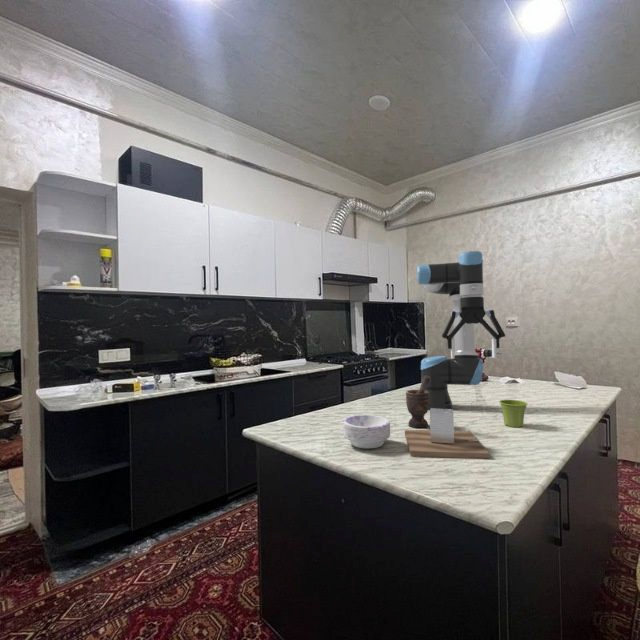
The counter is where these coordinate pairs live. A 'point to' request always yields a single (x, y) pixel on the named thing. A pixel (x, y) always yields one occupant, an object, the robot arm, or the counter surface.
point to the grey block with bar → (441, 425)
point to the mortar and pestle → (418, 404)
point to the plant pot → (513, 412)
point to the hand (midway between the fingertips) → (473, 358)
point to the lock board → (445, 445)
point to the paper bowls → (366, 430)
